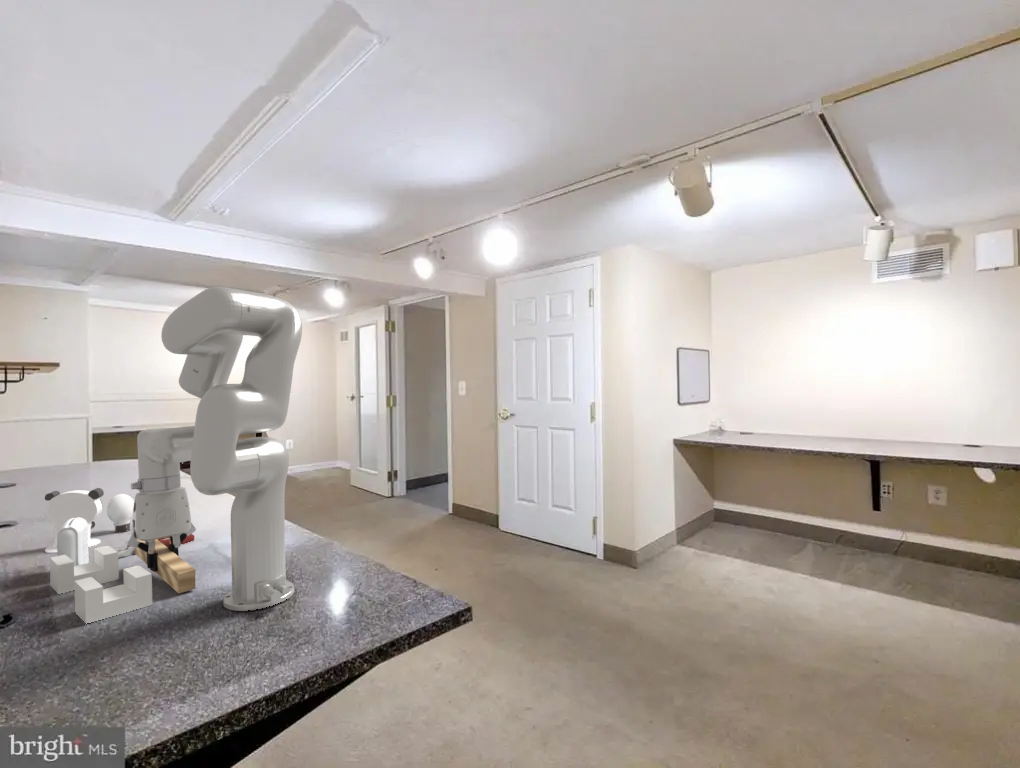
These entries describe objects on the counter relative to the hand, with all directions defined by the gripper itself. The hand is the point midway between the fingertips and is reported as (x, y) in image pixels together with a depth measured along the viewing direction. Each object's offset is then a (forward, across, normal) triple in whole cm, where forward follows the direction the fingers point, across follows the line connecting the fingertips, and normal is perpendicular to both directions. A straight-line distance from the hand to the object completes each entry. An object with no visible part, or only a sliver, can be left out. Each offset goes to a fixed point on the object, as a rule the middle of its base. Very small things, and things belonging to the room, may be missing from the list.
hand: (163, 567), depth 111 cm
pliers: (+2, +5, +30) cm, 30 cm away
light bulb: (+1, +6, +55) cm, 55 cm away
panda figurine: (+1, -6, +48) cm, 48 cm away
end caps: (+2, -11, +1) cm, 11 cm away
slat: (+1, 0, 0) cm, 1 cm away
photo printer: (+2, -11, +22) cm, 25 cm away
